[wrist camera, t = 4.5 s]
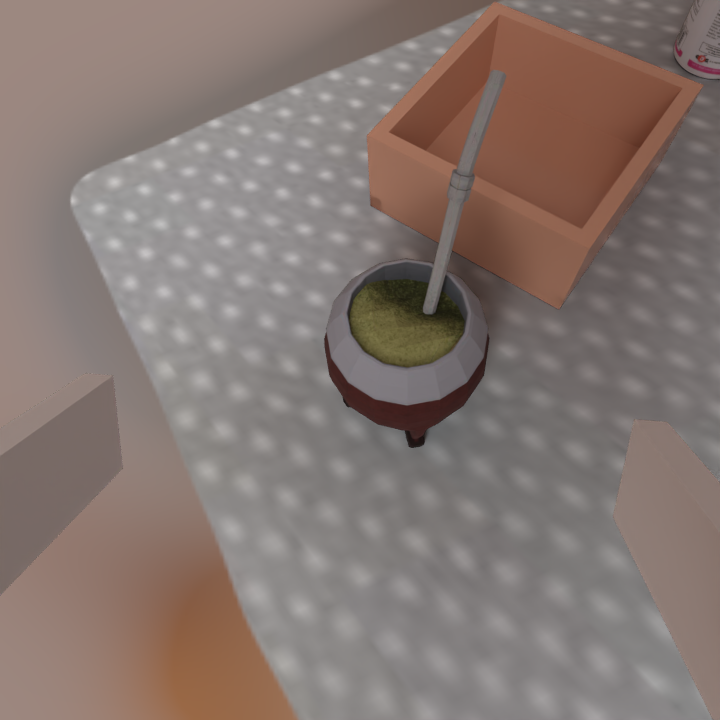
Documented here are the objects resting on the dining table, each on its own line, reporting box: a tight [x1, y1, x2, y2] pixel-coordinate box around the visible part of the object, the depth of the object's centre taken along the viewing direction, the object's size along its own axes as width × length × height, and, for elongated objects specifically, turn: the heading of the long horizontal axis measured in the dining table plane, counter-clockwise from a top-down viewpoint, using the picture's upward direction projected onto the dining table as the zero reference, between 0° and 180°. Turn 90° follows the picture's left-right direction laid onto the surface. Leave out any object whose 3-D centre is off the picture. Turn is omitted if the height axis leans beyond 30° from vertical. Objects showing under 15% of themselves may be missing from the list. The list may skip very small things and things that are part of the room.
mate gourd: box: [324, 70, 506, 448], centre depth 24 cm, size 8×8×15 cm
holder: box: [367, 2, 703, 309], centre depth 33 cm, size 13×13×6 cm
